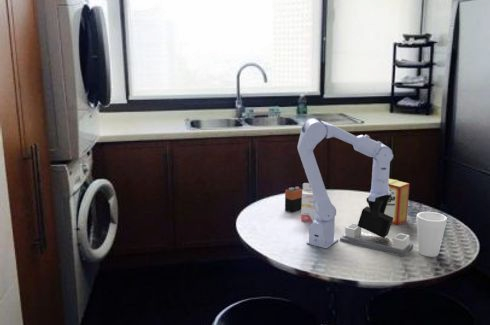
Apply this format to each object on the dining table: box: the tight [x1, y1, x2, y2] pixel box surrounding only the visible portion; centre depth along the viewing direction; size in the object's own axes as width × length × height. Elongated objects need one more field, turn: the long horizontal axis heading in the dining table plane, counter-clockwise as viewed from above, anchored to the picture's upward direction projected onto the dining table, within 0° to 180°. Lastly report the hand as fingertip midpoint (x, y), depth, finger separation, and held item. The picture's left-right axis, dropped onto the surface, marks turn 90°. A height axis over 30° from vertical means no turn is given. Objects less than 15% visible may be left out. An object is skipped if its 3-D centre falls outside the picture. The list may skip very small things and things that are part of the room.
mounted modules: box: [344, 222, 410, 249], centre depth 176 cm, size 6×21×3 cm, turn 54°
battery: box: [284, 186, 303, 214], centre depth 210 cm, size 4×7×10 cm, turn 129°
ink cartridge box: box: [300, 182, 316, 223], centre depth 198 cm, size 9×5×15 cm, turn 84°
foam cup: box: [415, 211, 448, 258], centre depth 167 cm, size 10×9×13 cm
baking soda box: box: [384, 178, 410, 226], centre depth 197 cm, size 10×6×16 cm
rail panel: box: [339, 231, 414, 257], centre depth 176 cm, size 10×23×2 cm, turn 54°
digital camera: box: [357, 205, 393, 238], centre depth 178 cm, size 10×5×7 cm, turn 55°
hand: (377, 215), depth 177 cm, fingers closed on digital camera, 5 cm apart
